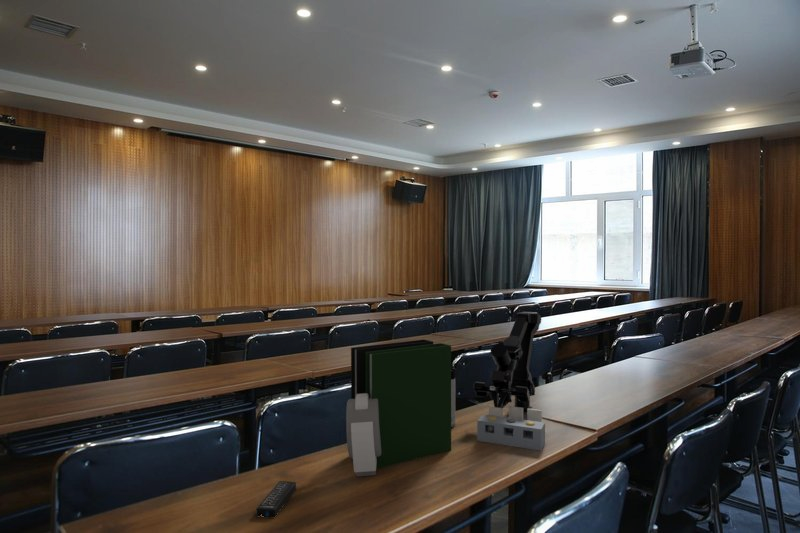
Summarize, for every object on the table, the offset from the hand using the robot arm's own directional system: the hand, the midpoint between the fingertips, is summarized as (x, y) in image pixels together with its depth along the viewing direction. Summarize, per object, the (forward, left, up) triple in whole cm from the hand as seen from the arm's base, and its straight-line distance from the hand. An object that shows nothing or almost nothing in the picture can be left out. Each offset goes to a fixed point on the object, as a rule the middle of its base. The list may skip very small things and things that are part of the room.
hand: (496, 413), depth 166 cm
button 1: (+4, 0, -4) cm, 6 cm away
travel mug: (-1, -18, -7) cm, 19 cm away
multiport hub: (+69, -35, -7) cm, 78 cm away
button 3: (+1, +12, -4) cm, 13 cm away
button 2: (+1, +6, -4) cm, 7 cm away
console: (+5, +6, -7) cm, 10 cm away
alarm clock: (+42, -25, -6) cm, 50 cm away
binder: (+28, -22, -7) cm, 36 cm away
